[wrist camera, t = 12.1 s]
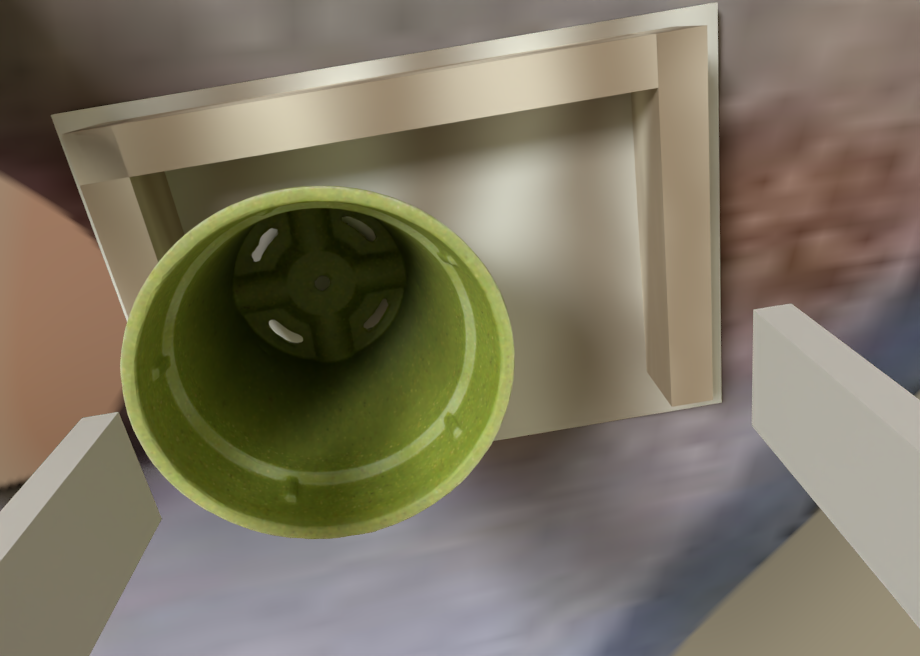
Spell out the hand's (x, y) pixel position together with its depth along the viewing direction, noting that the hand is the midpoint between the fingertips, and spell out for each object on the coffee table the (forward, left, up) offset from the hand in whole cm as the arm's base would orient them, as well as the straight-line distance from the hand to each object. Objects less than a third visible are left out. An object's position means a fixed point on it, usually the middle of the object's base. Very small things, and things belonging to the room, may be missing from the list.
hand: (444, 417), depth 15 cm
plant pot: (+4, 0, -12) cm, 12 cm away
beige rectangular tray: (0, +1, -12) cm, 12 cm away
